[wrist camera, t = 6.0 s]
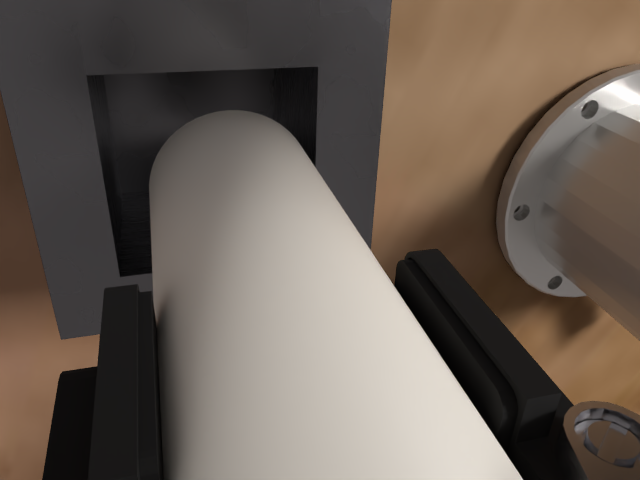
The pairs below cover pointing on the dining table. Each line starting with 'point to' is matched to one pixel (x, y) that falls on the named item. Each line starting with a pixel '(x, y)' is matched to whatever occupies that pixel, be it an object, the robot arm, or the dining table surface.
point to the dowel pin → (289, 327)
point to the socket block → (174, 114)
